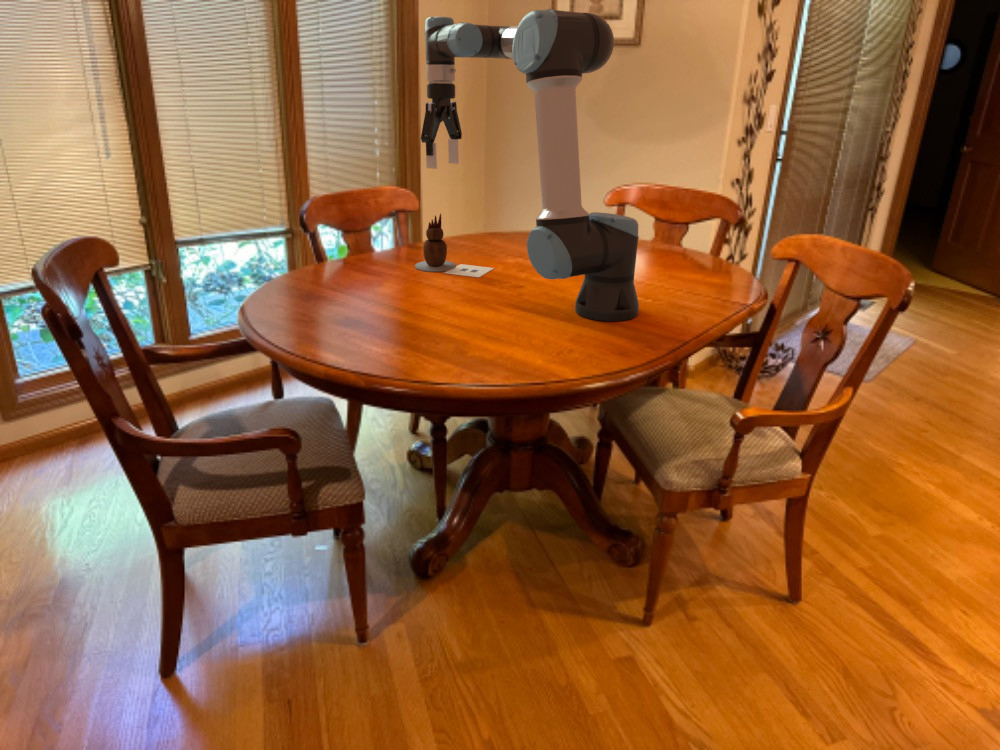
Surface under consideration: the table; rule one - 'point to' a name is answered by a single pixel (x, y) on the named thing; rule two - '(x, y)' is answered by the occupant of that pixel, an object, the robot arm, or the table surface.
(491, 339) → the table surface
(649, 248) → the table surface
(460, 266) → the white card
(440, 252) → the wooden figurine
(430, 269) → the coaster
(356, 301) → the table surface
